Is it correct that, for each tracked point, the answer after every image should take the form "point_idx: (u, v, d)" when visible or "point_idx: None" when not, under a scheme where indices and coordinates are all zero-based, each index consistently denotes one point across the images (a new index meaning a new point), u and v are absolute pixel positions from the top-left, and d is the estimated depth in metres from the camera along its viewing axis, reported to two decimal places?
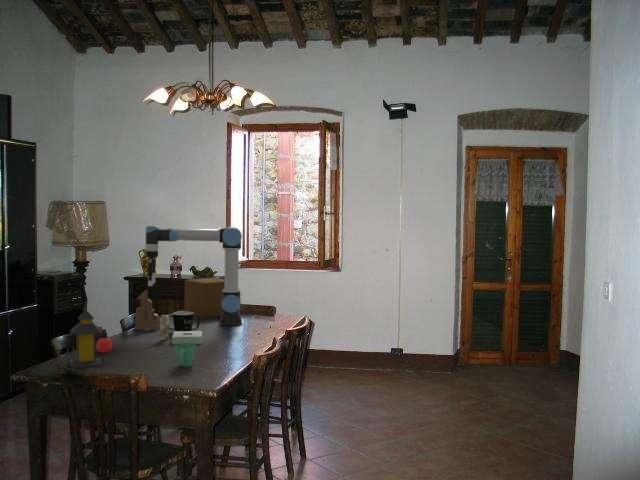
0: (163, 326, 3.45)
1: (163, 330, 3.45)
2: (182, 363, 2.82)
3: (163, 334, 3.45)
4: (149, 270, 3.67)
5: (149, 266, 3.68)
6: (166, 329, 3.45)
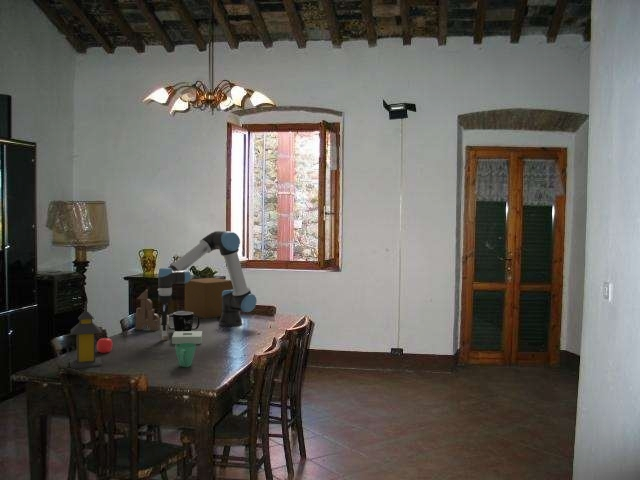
0: None
1: None
2: (182, 363, 2.82)
3: None
4: (163, 320, 3.41)
5: (163, 315, 3.40)
6: None
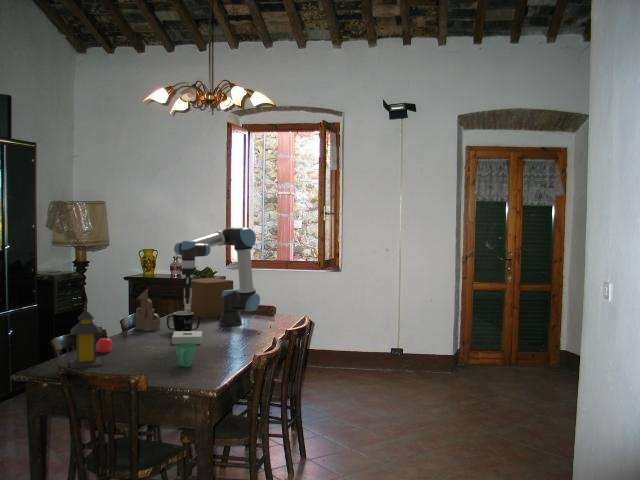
0: None
1: None
2: (182, 363, 2.82)
3: None
4: (186, 293, 3.38)
5: (186, 288, 3.38)
6: None
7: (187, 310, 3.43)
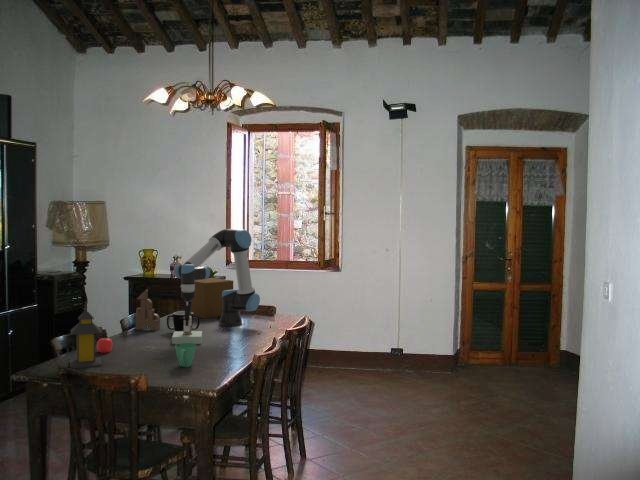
0: None
1: None
2: (182, 363, 2.82)
3: None
4: (186, 314, 3.36)
5: (186, 310, 3.37)
6: (189, 330, 3.43)
7: None
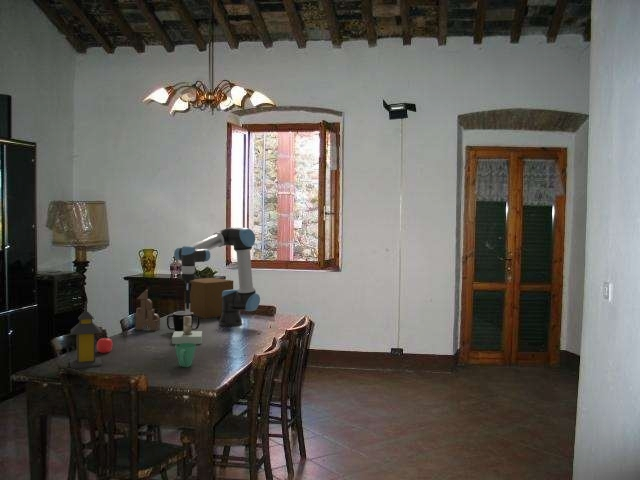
0: (186, 327, 3.43)
1: (186, 331, 3.43)
2: (182, 363, 2.82)
3: None
4: (186, 298, 3.40)
5: (186, 294, 3.39)
6: (189, 330, 3.43)
7: None
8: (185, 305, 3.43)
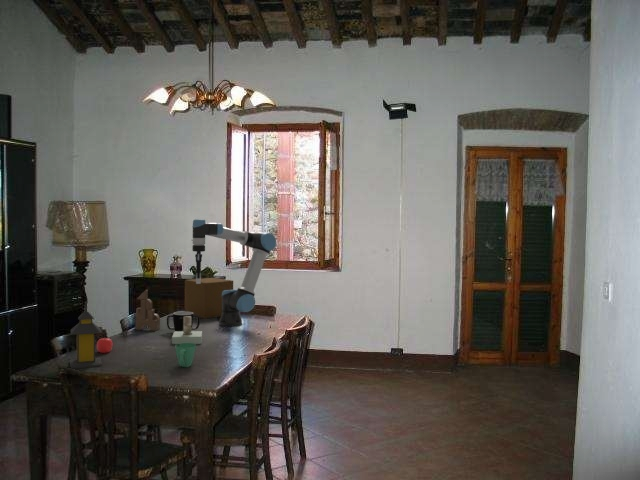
0: (186, 327, 3.43)
1: (186, 331, 3.43)
2: (182, 363, 2.82)
3: None
4: (197, 268, 3.62)
5: (197, 264, 3.61)
6: (189, 330, 3.43)
7: None
8: (196, 275, 3.65)
